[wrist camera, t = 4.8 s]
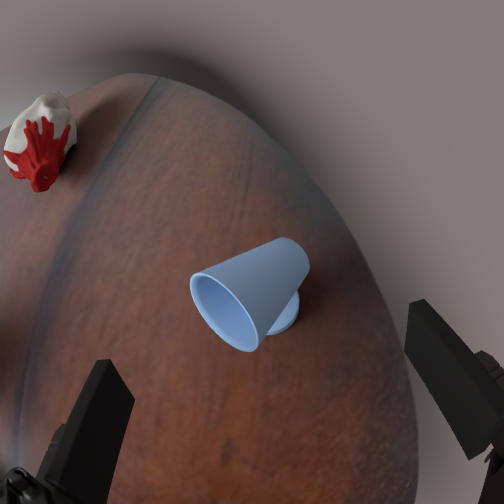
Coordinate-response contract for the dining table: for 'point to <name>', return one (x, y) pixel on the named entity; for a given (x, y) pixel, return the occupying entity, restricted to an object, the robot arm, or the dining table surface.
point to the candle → (41, 140)
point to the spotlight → (252, 293)
